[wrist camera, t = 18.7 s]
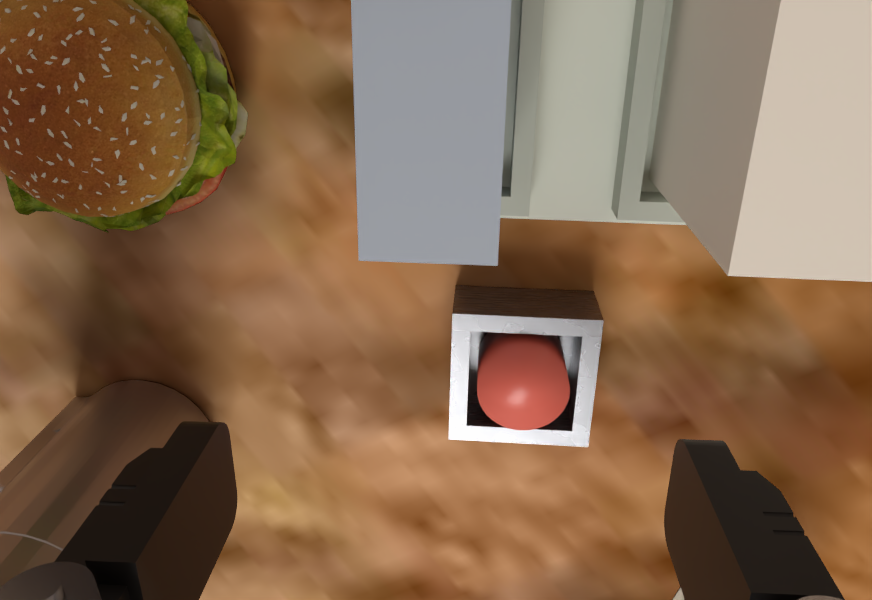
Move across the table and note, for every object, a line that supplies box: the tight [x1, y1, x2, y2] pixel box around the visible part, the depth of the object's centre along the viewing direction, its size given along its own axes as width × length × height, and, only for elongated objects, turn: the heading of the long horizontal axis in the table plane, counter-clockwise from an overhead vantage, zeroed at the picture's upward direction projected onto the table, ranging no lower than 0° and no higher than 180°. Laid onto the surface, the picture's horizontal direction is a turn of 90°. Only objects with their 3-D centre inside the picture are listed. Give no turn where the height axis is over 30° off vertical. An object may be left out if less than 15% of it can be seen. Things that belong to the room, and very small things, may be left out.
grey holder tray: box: [500, 0, 686, 225], centre depth 36 cm, size 23×15×3 cm, turn 89°
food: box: [0, 0, 248, 233], centre depth 36 cm, size 14×14×8 cm
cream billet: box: [649, 0, 872, 282], centre depth 30 cm, size 5×10×14 cm, turn 179°
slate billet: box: [351, 0, 511, 266], centre depth 31 cm, size 5×10×14 cm, turn 179°
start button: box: [477, 332, 570, 430], centre depth 41 cm, size 5×5×4 cm
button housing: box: [449, 285, 604, 447], centre depth 42 cm, size 8×8×4 cm
